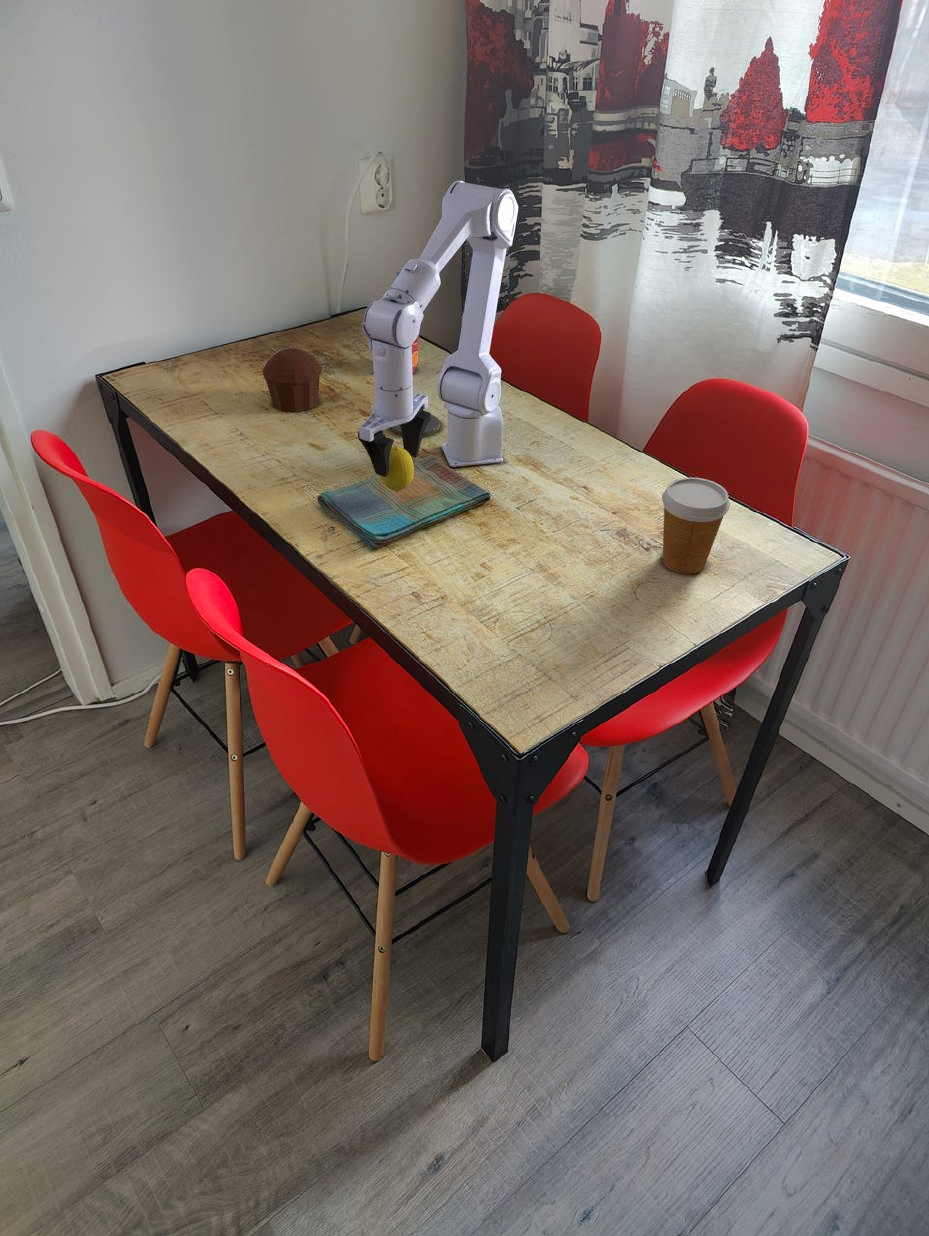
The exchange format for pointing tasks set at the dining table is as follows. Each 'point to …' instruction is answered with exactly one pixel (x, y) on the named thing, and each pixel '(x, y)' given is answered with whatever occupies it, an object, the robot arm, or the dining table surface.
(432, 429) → the slate coaster
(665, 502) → the disposable coffee cup
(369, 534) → the dish towel
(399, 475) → the lemon
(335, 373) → the dining table surface
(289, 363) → the muffin
